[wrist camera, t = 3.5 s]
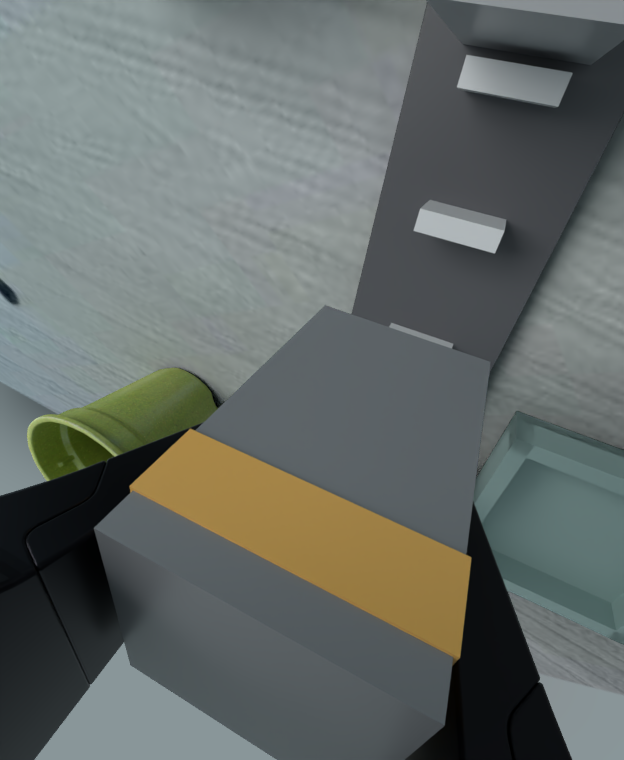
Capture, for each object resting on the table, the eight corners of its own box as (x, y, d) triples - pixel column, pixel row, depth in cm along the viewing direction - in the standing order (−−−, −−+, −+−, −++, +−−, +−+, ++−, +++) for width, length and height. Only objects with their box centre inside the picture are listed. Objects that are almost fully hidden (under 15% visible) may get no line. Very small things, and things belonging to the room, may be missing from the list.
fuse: (493, 360, 9) (452, 727, 4) (432, 481, 11) (352, 810, 6) (323, 303, 10) (89, 523, 5) (300, 425, 12) (128, 664, 7)
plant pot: (227, 473, 32) (150, 567, 26) (131, 411, 33) (32, 485, 27) (258, 393, 26) (168, 487, 20) (140, 320, 27) (17, 386, 21)
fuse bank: (847, -332, 9) (1528, -1272, 3) (414, 515, 26) (383, 630, 20) (510, -318, 10) (494, -893, 4) (315, 471, 28) (260, 565, 22)
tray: (754, 498, 18) (779, 538, 16) (616, 606, 24) (623, 644, 22) (516, 411, 20) (515, 438, 18) (444, 529, 26) (439, 558, 24)
